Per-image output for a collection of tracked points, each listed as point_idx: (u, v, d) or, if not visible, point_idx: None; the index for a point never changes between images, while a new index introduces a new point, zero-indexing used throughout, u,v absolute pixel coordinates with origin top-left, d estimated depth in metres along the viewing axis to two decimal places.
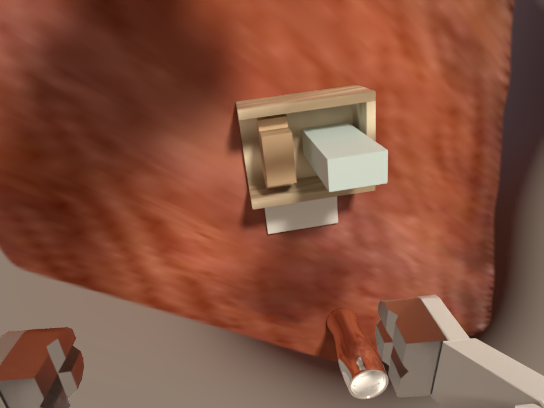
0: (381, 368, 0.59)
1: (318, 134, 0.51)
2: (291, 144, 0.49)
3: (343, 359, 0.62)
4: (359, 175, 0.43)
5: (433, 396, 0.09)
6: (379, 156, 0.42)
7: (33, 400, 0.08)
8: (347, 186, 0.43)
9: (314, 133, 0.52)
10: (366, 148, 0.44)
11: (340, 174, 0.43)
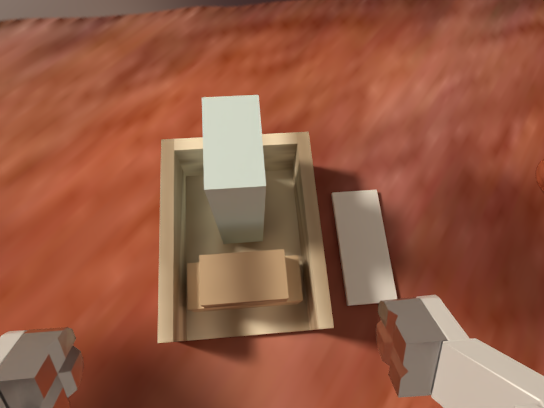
0: None
1: None
2: (218, 256, 0.31)
3: None
4: (239, 137, 0.25)
5: (433, 396, 0.09)
6: (210, 109, 0.26)
7: (33, 400, 0.08)
8: (259, 155, 0.25)
9: None
10: None
11: (234, 167, 0.25)
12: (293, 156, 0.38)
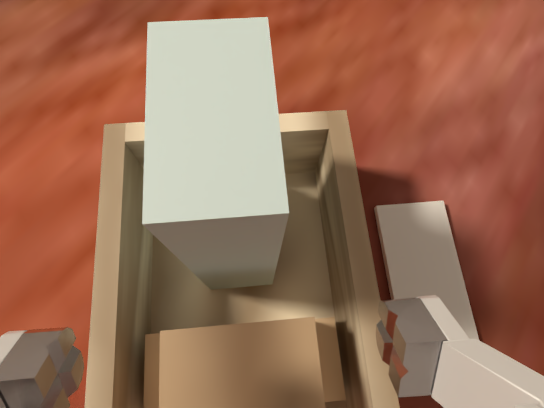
0: None
1: None
2: (195, 332, 0.17)
3: None
4: (226, 104, 0.11)
5: (433, 396, 0.09)
6: (164, 45, 0.12)
7: (33, 400, 0.08)
8: (271, 142, 0.11)
9: None
10: None
11: (214, 169, 0.11)
12: (319, 151, 0.24)
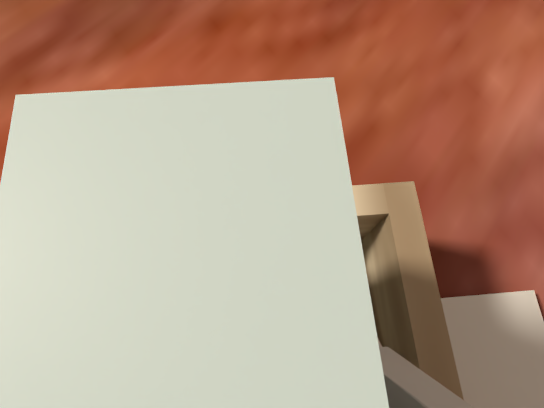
0: None
1: None
2: None
3: None
4: (225, 369, 0.04)
5: None
6: (54, 163, 0.04)
7: None
8: None
9: None
10: None
11: None
12: (366, 232, 0.16)
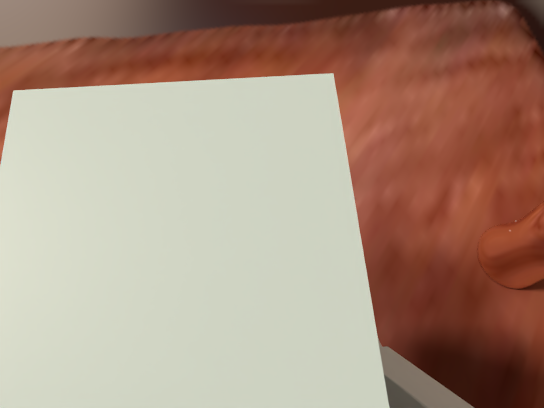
0: None
1: None
2: None
3: None
4: (224, 365, 0.04)
5: None
6: (52, 159, 0.04)
7: None
8: None
9: None
10: None
11: None
12: None
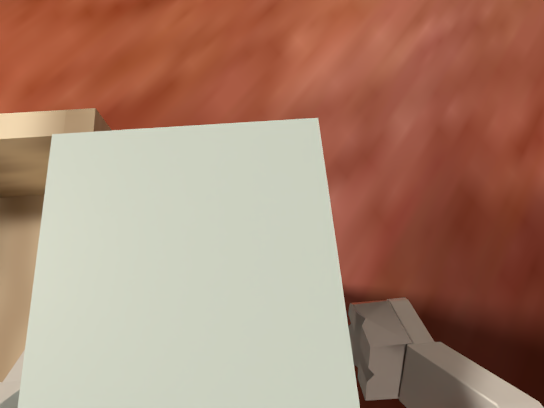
0: None
1: None
2: None
3: None
4: (227, 361, 0.05)
5: (400, 399, 0.09)
6: (86, 193, 0.05)
7: None
8: None
9: None
10: None
11: None
12: None
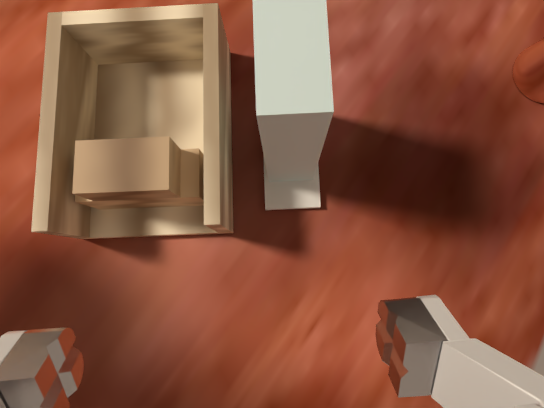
0: None
1: None
2: (96, 142, 0.27)
3: None
4: (300, 48, 0.20)
5: (433, 396, 0.09)
6: (263, 10, 0.20)
7: (33, 400, 0.08)
8: (325, 71, 0.20)
9: None
10: None
11: (293, 87, 0.19)
12: None
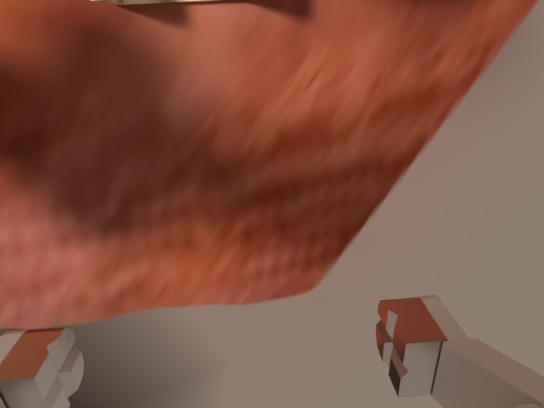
0: None
1: None
2: None
3: None
4: None
5: (433, 396, 0.09)
6: None
7: (33, 400, 0.08)
8: None
9: None
10: None
11: None
12: None
